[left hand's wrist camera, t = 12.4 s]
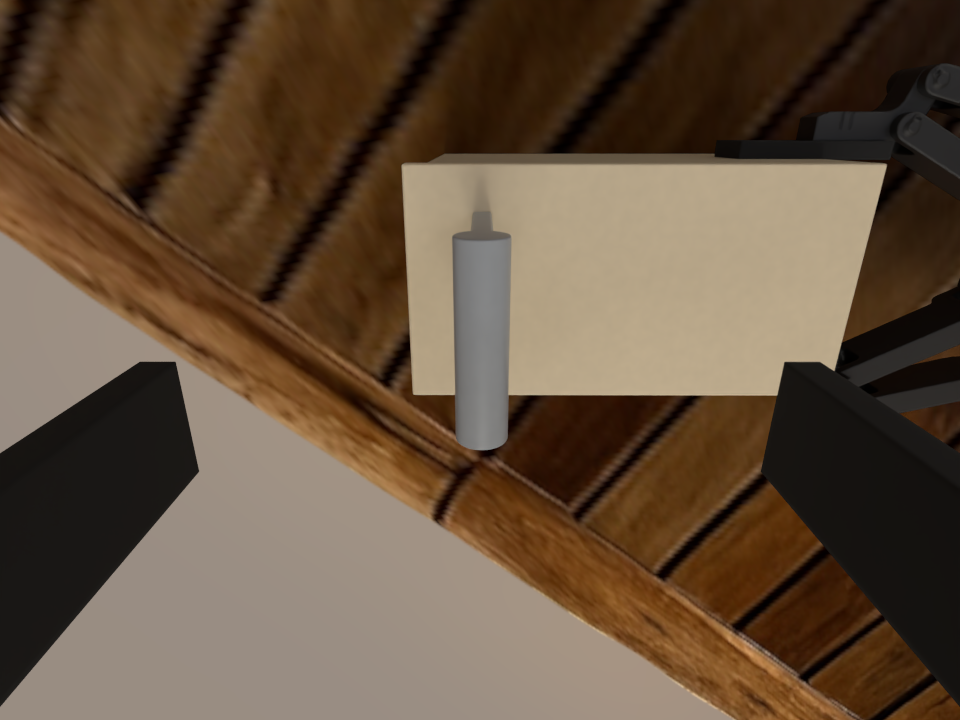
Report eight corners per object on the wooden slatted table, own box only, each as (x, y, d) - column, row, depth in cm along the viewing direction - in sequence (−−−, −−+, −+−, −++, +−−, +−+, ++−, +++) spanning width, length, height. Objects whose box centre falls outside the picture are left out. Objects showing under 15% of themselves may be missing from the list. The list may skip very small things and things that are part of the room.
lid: (414, 387, 24) (386, 493, 17) (404, 162, 21) (362, 177, 14) (817, 387, 24) (960, 495, 17) (873, 162, 21) (1081, 177, 14)
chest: (447, 313, 35) (433, 386, 24) (443, 153, 31) (425, 162, 21) (719, 314, 34) (817, 387, 24) (746, 153, 31) (872, 162, 21)
